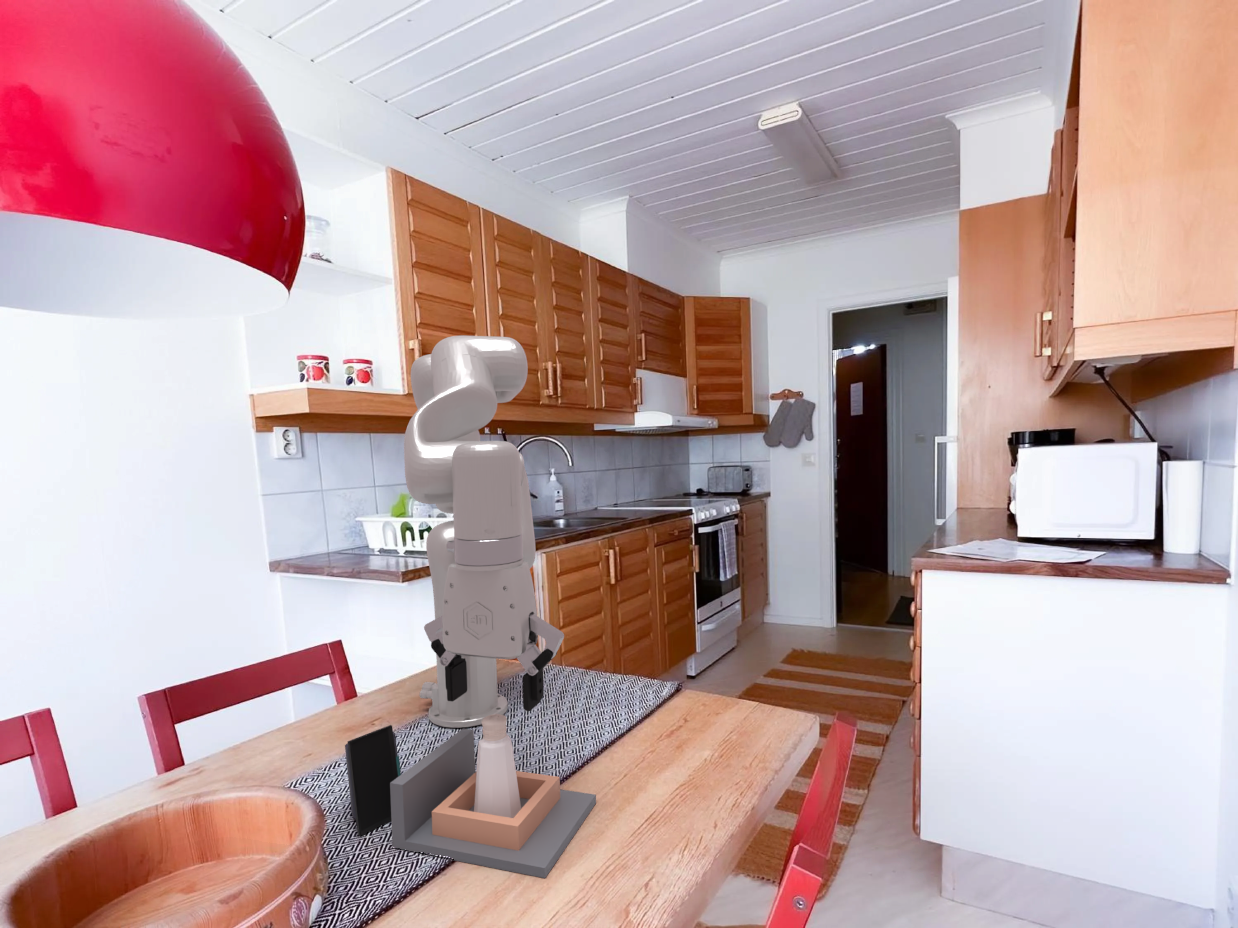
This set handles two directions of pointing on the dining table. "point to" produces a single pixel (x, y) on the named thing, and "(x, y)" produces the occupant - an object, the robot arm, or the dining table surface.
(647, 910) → the dining table surface
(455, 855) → the gray walled base stand
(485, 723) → the salt shaker
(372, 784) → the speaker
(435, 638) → the robot arm
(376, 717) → the dining table surface
